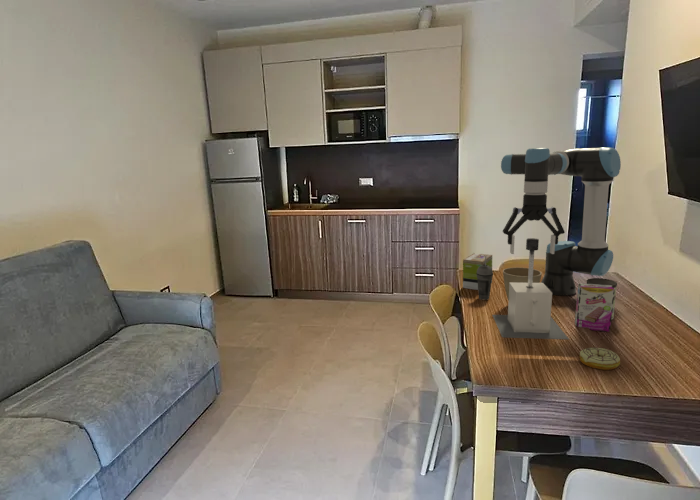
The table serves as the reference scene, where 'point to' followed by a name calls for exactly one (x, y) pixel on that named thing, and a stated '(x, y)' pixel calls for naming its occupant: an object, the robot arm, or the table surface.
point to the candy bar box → (594, 306)
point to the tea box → (474, 269)
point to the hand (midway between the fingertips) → (531, 253)
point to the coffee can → (604, 282)
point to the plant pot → (519, 276)
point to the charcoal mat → (509, 333)
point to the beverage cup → (484, 281)
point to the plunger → (531, 257)
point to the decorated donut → (599, 358)
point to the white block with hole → (529, 307)
